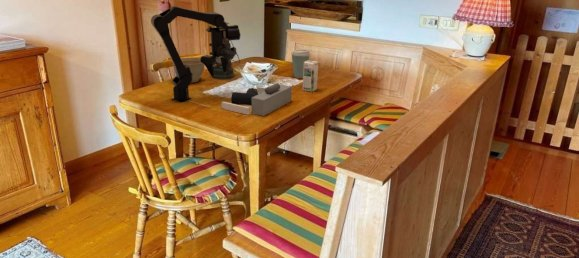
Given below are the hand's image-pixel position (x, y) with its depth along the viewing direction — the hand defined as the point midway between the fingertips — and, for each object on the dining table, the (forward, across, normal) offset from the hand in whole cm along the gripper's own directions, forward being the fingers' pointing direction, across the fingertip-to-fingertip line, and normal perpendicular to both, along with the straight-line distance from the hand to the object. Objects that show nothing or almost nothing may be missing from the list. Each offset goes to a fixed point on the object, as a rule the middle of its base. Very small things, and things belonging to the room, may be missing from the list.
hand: (218, 74), depth 201 cm
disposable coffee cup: (+11, +52, -16) cm, 55 cm away
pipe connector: (+11, +1, -17) cm, 20 cm away
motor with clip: (+10, 0, -23) cm, 25 cm away
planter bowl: (+10, +11, +28) cm, 32 cm away
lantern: (+10, +29, +19) cm, 36 cm away
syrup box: (+11, +33, -32) cm, 47 cm away
